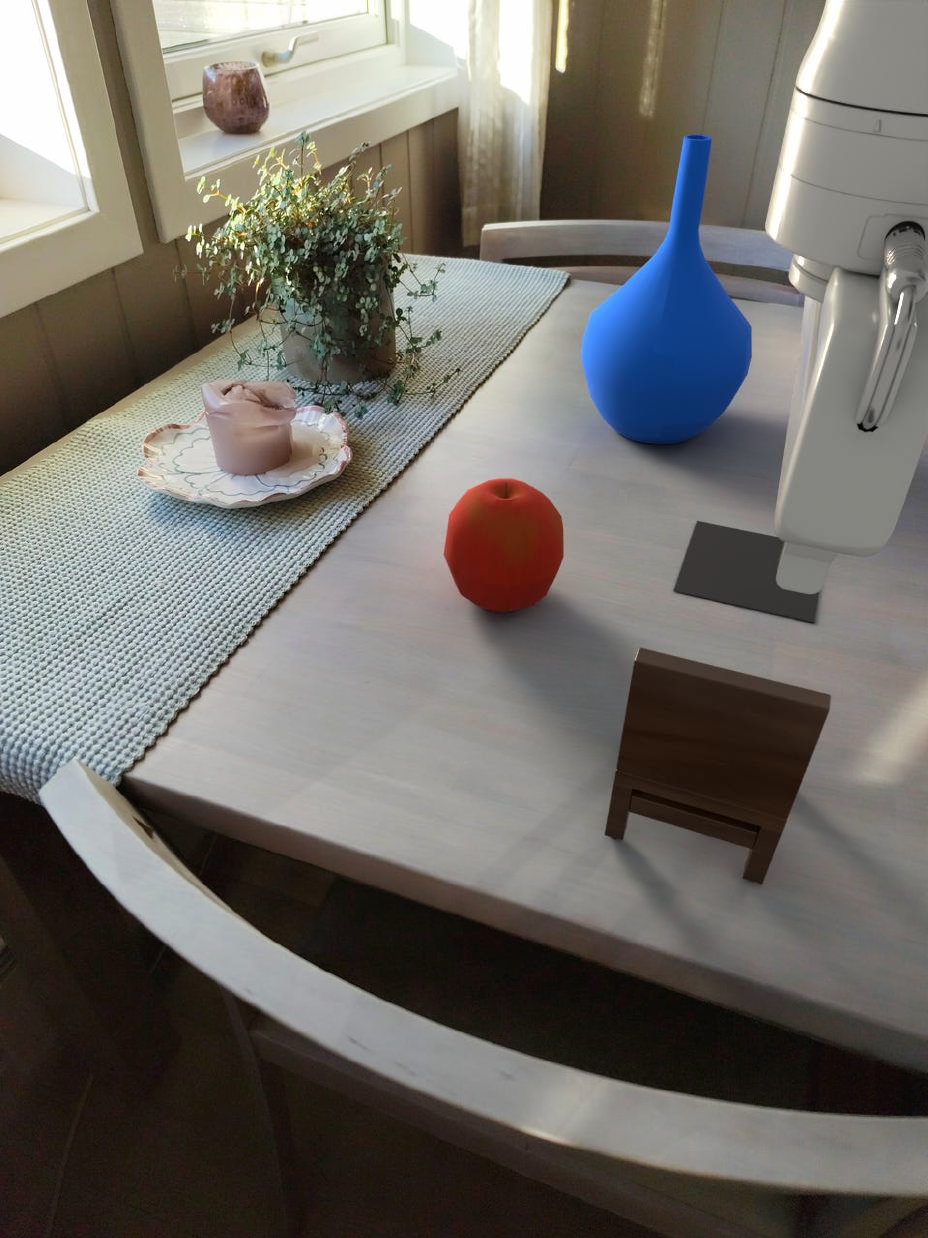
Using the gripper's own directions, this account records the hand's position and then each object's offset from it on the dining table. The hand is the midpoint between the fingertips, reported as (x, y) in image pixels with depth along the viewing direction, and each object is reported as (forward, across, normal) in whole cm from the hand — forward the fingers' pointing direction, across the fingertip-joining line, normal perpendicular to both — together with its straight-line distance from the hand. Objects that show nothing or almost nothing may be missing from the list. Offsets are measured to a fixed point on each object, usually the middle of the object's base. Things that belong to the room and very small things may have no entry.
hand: (803, 521), depth 39 cm
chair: (+26, +4, +1) cm, 26 cm away
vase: (+26, +58, +13) cm, 65 cm away
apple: (+26, +22, +20) cm, 39 cm away
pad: (+26, +33, 0) cm, 42 cm away
